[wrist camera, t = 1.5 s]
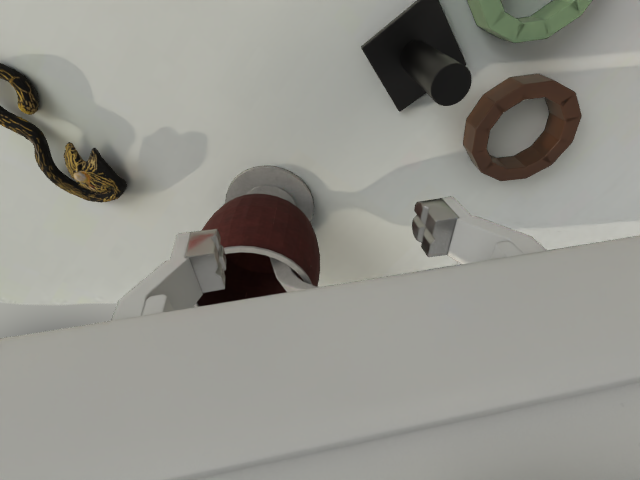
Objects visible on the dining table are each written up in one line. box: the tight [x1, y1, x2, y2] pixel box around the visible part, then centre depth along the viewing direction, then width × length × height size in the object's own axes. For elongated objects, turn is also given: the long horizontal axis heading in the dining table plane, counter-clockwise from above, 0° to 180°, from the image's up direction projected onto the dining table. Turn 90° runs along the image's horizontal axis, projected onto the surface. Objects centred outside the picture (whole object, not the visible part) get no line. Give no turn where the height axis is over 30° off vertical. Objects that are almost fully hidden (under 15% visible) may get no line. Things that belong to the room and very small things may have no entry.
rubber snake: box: [0, 63, 127, 202], centre depth 39 cm, size 18×5×10 cm
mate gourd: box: [193, 166, 320, 308], centre depth 39 cm, size 16×14×20 cm
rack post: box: [361, 0, 471, 111], centre depth 30 cm, size 8×8×13 cm
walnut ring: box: [463, 74, 582, 181], centre depth 39 cm, size 11×11×3 cm
